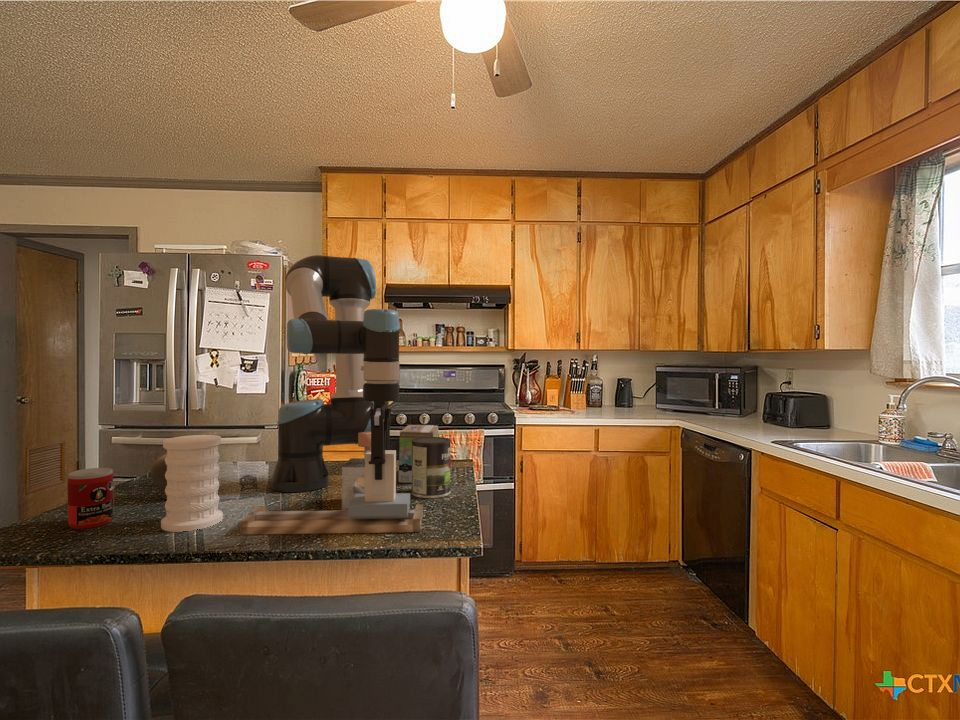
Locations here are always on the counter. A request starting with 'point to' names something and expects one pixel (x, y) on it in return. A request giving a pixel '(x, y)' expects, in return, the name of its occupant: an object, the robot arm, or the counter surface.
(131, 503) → the counter surface
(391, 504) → the carriage
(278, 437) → the robot arm
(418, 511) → the rail track
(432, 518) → the counter surface
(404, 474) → the tea box
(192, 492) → the decorative container
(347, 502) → the box with ball knob
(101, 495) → the canned food
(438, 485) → the coffee can
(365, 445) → the plunger
